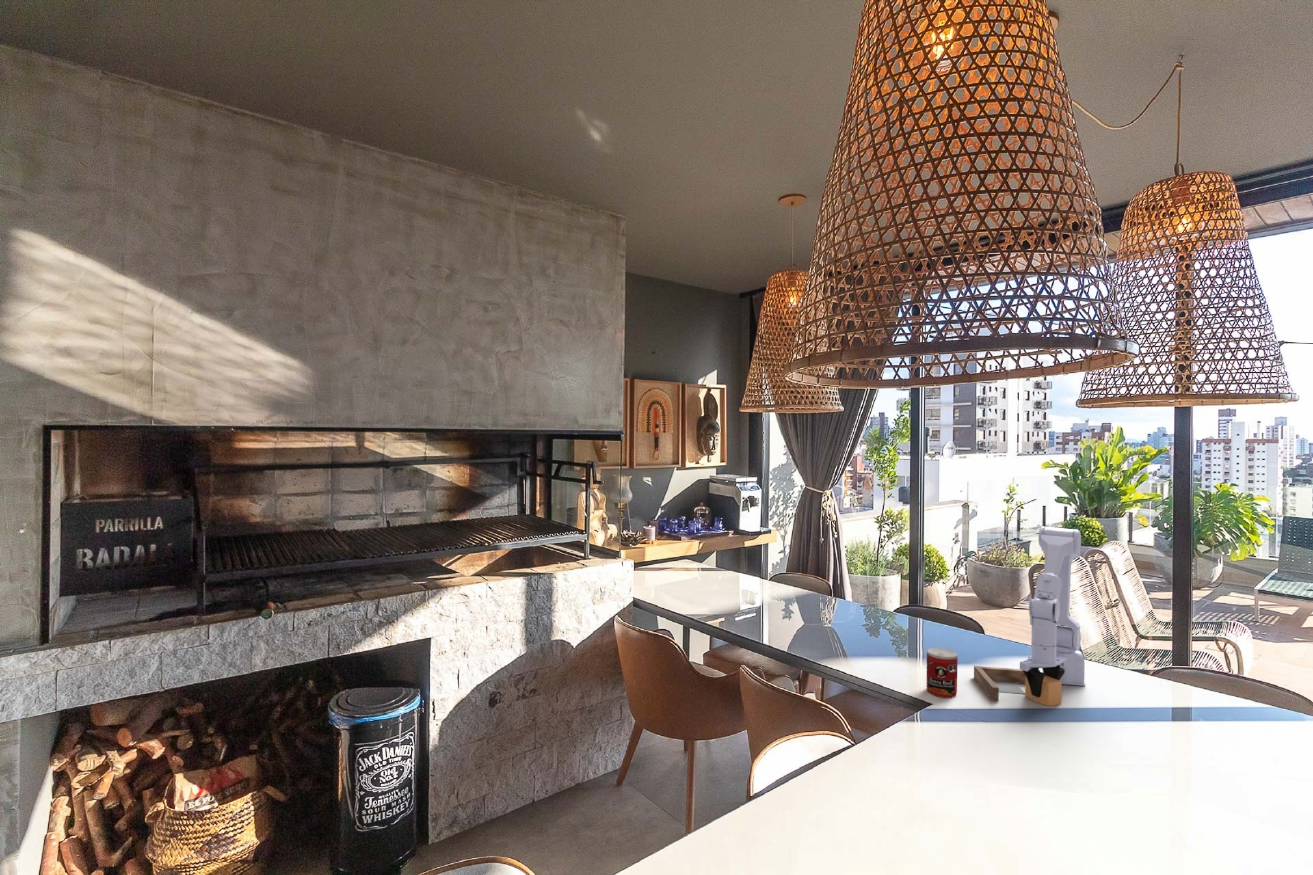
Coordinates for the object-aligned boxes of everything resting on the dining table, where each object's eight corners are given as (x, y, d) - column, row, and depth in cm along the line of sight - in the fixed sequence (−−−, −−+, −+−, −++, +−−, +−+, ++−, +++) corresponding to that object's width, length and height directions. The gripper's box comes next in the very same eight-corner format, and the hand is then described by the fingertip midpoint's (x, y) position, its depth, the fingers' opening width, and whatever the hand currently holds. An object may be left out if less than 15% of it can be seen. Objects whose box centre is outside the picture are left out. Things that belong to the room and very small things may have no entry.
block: (1037, 694, 179) (1038, 672, 179) (1061, 704, 172) (1061, 681, 172) (1025, 696, 177) (1025, 673, 177) (1048, 706, 171) (1048, 683, 171)
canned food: (924, 694, 177) (925, 653, 177) (927, 685, 184) (928, 645, 184) (956, 700, 174) (956, 658, 174) (957, 690, 181) (958, 650, 181)
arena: (1037, 682, 188) (1037, 670, 188) (1062, 706, 171) (1063, 692, 171) (973, 677, 191) (974, 665, 191) (992, 700, 174) (992, 687, 174)
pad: (1015, 682, 187) (1015, 682, 187) (1025, 694, 179) (1025, 693, 179) (981, 680, 189) (981, 680, 189) (991, 691, 180) (991, 690, 180)
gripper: (1050, 636, 181) (1049, 686, 181) (1010, 641, 176) (1009, 692, 176) (1074, 644, 174) (1073, 695, 174) (1033, 649, 170) (1032, 702, 170)
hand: (1043, 694), depth 175 cm, fingers closed on block, 4 cm apart
